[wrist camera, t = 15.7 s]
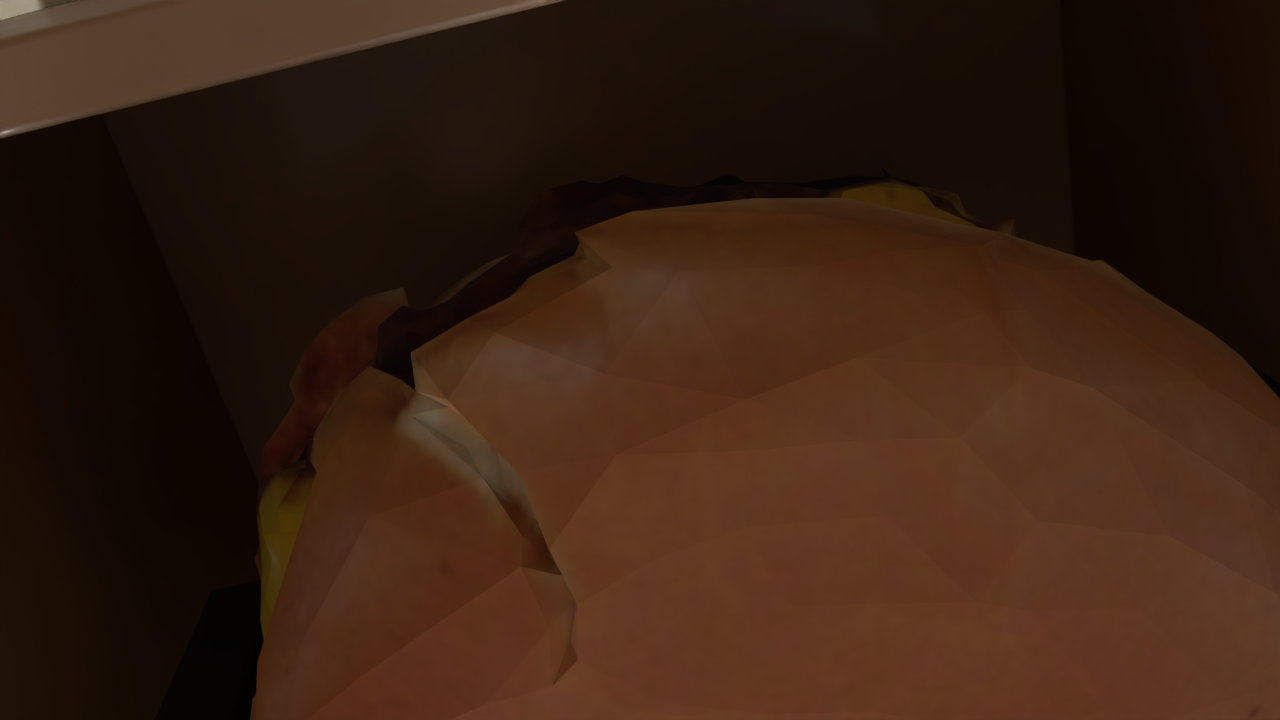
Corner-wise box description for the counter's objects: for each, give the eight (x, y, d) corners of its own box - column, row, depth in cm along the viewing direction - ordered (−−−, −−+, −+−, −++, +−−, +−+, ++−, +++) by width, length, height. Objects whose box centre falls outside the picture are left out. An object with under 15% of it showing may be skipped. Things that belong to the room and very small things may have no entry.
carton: (1065, -241, 15) (1872, -420, 6) (1109, 603, 20) (1549, 1142, 12) (34, 10, 14) (-690, 206, 6) (370, 784, 20) (259, 1462, 12)
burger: (1184, 761, 14) (1471, 1152, 10) (481, 955, 14) (456, 1418, 10) (1107, -36, 10) (1539, 30, 6) (130, 261, 10) (-165, 536, 6)
